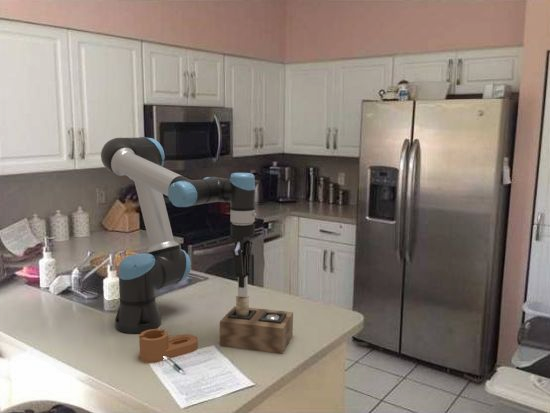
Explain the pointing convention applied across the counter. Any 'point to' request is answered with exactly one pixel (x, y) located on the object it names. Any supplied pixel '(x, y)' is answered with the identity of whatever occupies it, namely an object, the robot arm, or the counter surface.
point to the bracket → (164, 345)
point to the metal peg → (272, 317)
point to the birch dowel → (242, 306)
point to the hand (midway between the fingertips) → (242, 296)
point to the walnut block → (257, 330)
